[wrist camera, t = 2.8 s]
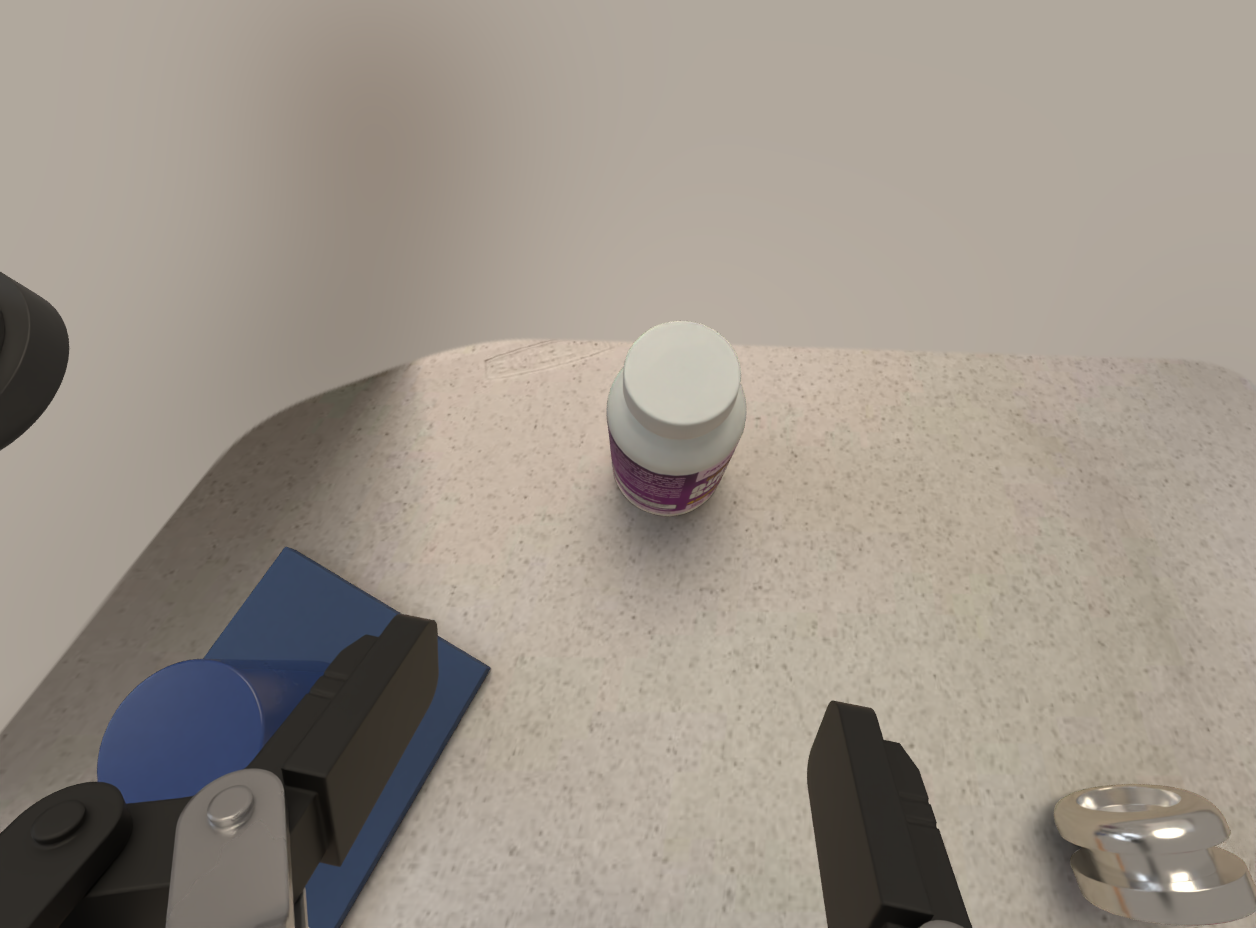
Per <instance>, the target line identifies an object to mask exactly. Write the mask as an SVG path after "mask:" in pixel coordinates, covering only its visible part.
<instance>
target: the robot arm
mask: <svg viewBox="0 0 1256 928" xmlns="http://www.w3.org/2000/svg"><path fill="white" fill-rule="evenodd" d="M3 338H4V320H3V316H2V312H1V310H0V350H1V347H2V343H3ZM438 676H439V667H438V636H437V624H436V622H435V621H434V620H430V619H425V618H419V617H414V616H409V615H404V614H397V615H396V616H395V617H394V618H393V619H392V620H391V621H390V623H389V624H388V625H387V627H386V628H385V629H384V631H383V632H382V633H381V635H380V636H379V637H377V636H372V635H367V634H365V635H364V636H362V637H361V638H359V639H358V640H356V641H355V642H353V643H352V644H350V645H349V646H347V647H346V648H344V649H343V650H341V651H340V653H339V654H338V655H337V656H336V658H335V659H334V660H333V661H332V663H331V664H330V665H329V666H328V668H327V669H326V670H325V671H324V675H323V676H320V677H319V679H318V680H317V681H316V682H315V684H314V685H313V686H312V687H311V689H310V692H309V694H306V695H305V696H304V697H303V698H302V700H301V701H300V702H299V703H298V705H297V706H296V707H295V708H294V710H293V711H292V712H291V713H290V715H289V716H288V717H287V718H286V720H285V721H284V722H283V723H282V724H281V726H280V727H279V728H278V729H277V731H276V732H275V733H274V734H273V736H272V737H271V738H270V739H269V741H268V742H267V743H266V744H265V745H264V747H263V748H262V749H261V750H260V752H259V753H258V754H257V755H256V757H255V758H254V759H253V760H252V761H251V762H250V763H249V765H248V766H247V767H246V768H244V769H243V770H238V771H234V772H231V773H229V774H226V775H224V776H222V777H220V778H218V779H216V780H214V781H212V782H211V783H209V784H208V785H206V786H205V787H204V788H202V789H201V790H200V791H199V792H198V793H197V794H196V795H194V796H190V797H184V798H176V799H166V800H157V801H147V802H138V803H128V804H126V803H125V800H124V798H123V796H122V793H121V791H120V790H119V789H118V788H117V787H115V786H113V785H112V784H109V783H105V782H86V783H81V784H76V785H73V786H70V787H66V788H64V789H61V790H59V791H57V792H54V793H52V794H50V795H48V796H47V797H45V798H43V799H41V800H40V801H38V802H36V803H35V804H33V805H32V806H31V807H29V808H28V809H27V810H25V811H24V812H23V813H22V814H21V815H19V816H18V817H17V818H16V819H15V820H14V821H13V822H12V823H11V824H10V825H9V826H8V827H7V828H6V829H5V830H4V831H2V832H1V833H0V928H308V915H307V901H306V889H305V886H306V884H307V883H308V881H309V879H310V878H311V876H312V874H313V873H314V871H315V869H316V867H317V866H318V864H319V862H321V863H325V864H329V865H334V866H338V867H341V865H342V863H343V861H344V860H345V858H346V856H347V854H348V852H349V851H350V849H351V847H352V845H353V843H354V842H355V840H356V838H357V836H358V834H359V832H360V831H361V829H362V827H363V825H364V823H365V822H366V820H367V818H368V816H369V814H370V813H371V811H372V809H373V807H374V805H375V804H376V802H377V800H378V798H379V796H380V795H381V793H382V791H383V789H384V787H385V786H386V784H387V782H388V780H389V778H390V777H391V775H392V773H393V771H394V769H395V768H396V766H397V764H398V762H399V760H400V759H401V757H402V755H403V753H404V751H405V750H406V748H407V746H408V744H409V742H410V741H411V739H412V737H413V735H414V733H415V732H416V730H417V728H418V726H419V724H420V723H421V721H422V719H423V717H424V715H425V714H426V712H427V710H428V708H429V706H430V704H431V702H432V700H433V697H434V694H435V691H436V688H437V683H438ZM807 784H808V792H809V799H810V806H811V813H812V820H813V827H814V834H815V841H816V848H817V855H818V862H819V869H820V876H821V883H822V890H823V897H824V904H825V911H826V918H827V925H828V928H972V925H971V923H970V920H969V917H968V914H967V911H966V908H965V905H964V902H963V899H962V896H961V893H960V891H959V888H958V885H957V882H956V879H955V876H954V873H953V870H952V867H951V864H950V861H949V858H948V855H947V852H946V849H945V846H944V843H943V840H942V837H941V834H940V831H939V829H937V827H936V823H937V822H936V819H935V816H934V813H933V810H932V807H931V804H929V803H928V799H929V798H928V795H927V792H926V789H925V786H924V783H923V780H922V777H921V774H920V771H919V769H918V768H917V767H916V765H915V764H914V762H913V761H912V760H911V758H910V757H909V756H908V754H907V753H906V751H905V750H904V749H903V747H902V746H901V744H900V743H896V742H891V741H886V740H883V736H882V733H881V730H880V726H879V723H878V719H877V716H876V714H875V712H874V710H873V709H872V708H868V707H863V706H858V705H853V704H848V703H843V702H838V701H831V702H830V703H829V705H828V707H827V709H826V712H825V714H824V717H823V720H822V722H821V725H820V727H819V730H818V733H817V735H816V738H815V740H814V743H813V746H812V748H811V751H810V755H809V760H808V768H807Z"/></svg>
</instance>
